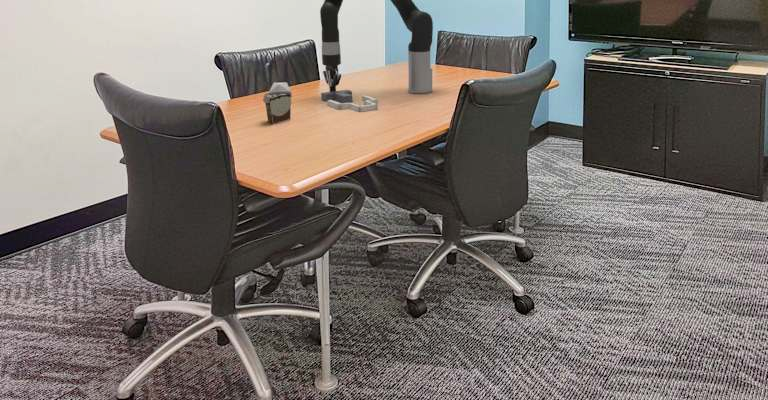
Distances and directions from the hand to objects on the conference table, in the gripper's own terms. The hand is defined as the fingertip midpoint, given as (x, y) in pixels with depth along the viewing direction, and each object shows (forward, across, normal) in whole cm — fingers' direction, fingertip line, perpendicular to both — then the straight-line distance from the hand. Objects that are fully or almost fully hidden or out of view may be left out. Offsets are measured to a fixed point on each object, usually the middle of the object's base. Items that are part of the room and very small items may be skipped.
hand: (332, 95), depth 312 cm
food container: (+1, -27, +36) cm, 45 cm away
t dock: (+1, -22, 0) cm, 22 cm away
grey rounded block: (+1, +2, +22) cm, 22 cm away
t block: (+1, -8, 0) cm, 8 cm away
